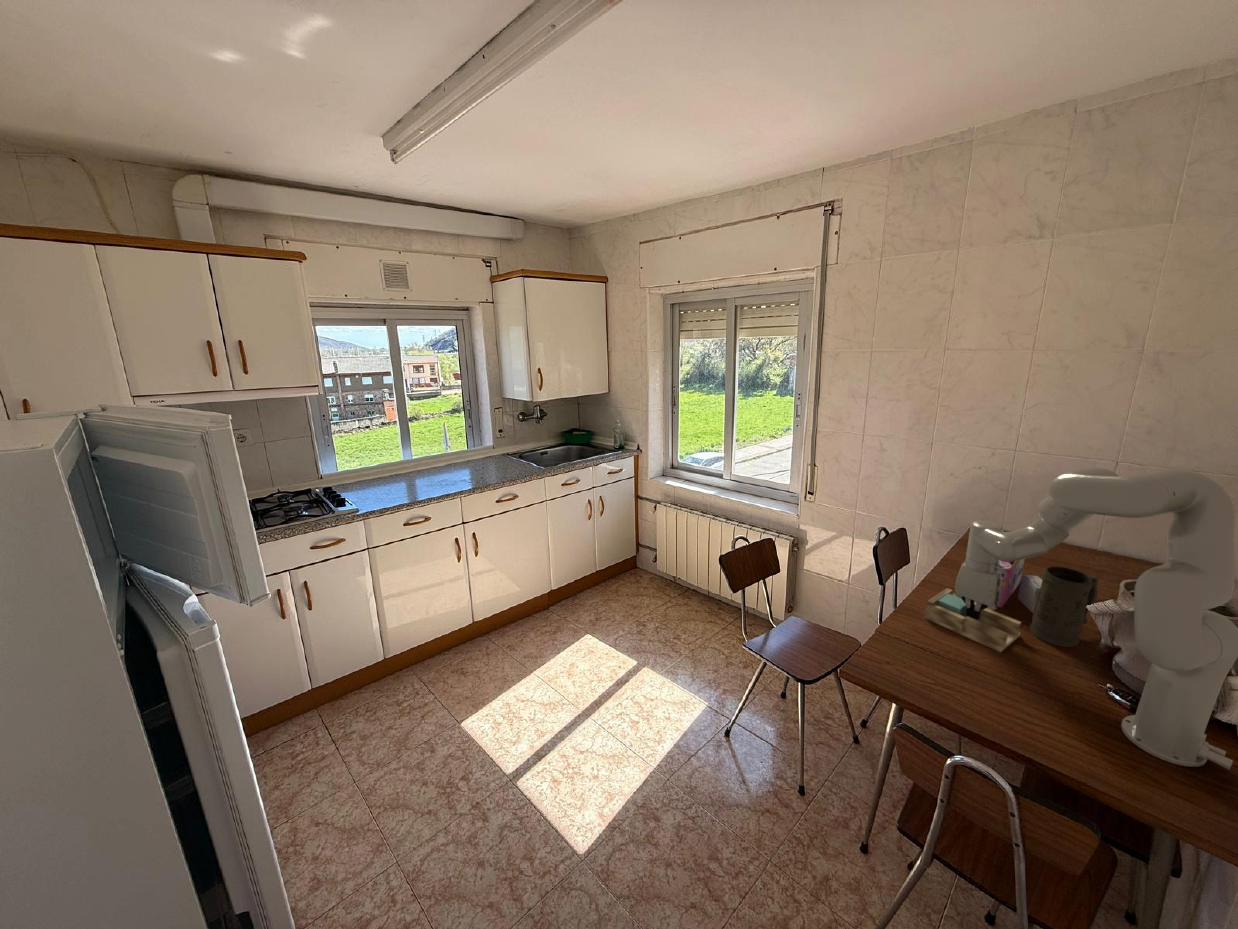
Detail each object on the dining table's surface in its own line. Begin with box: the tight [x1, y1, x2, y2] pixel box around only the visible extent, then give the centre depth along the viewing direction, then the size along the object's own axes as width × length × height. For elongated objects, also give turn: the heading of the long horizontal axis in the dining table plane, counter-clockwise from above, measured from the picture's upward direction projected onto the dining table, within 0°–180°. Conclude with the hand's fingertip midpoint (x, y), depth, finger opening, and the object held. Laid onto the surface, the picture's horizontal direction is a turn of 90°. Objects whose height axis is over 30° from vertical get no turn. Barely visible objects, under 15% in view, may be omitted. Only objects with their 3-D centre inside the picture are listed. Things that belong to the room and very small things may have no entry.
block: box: [938, 594, 967, 617], centre depth 150 cm, size 6×6×5 cm
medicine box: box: [1017, 574, 1043, 613], centre depth 153 cm, size 8×4×9 cm, turn 168°
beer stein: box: [1029, 566, 1099, 648], centre depth 139 cm, size 15×11×20 cm
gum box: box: [997, 559, 1026, 608], centre depth 162 cm, size 24×8×14 cm, turn 130°
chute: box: [924, 587, 1022, 653], centre depth 145 cm, size 20×12×6 cm, turn 33°
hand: (972, 619), depth 146 cm, fingers closed
